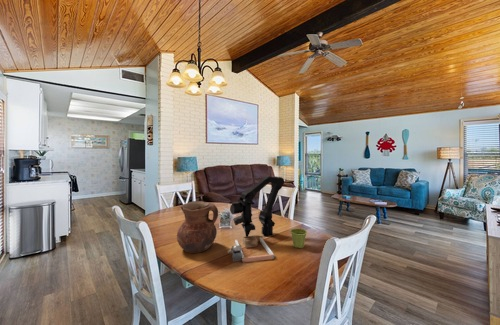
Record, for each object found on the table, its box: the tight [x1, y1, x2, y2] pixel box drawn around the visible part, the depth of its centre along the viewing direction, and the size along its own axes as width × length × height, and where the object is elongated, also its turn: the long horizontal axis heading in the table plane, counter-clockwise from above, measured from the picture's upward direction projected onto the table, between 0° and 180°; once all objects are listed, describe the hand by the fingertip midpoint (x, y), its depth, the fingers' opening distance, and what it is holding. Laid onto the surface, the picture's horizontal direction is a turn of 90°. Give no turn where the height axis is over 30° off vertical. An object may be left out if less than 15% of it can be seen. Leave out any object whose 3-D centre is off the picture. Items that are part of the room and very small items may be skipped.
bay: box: [234, 237, 275, 263], centre depth 119 cm, size 16×23×2 cm
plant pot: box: [290, 228, 308, 249], centre depth 125 cm, size 9×9×9 cm
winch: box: [227, 244, 243, 262], centre depth 108 cm, size 7×6×7 cm
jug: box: [176, 200, 219, 254], centre depth 122 cm, size 22×21×25 cm
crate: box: [242, 235, 258, 249], centre depth 126 cm, size 7×6×4 cm
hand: (246, 236), depth 135 cm, fingers closed
